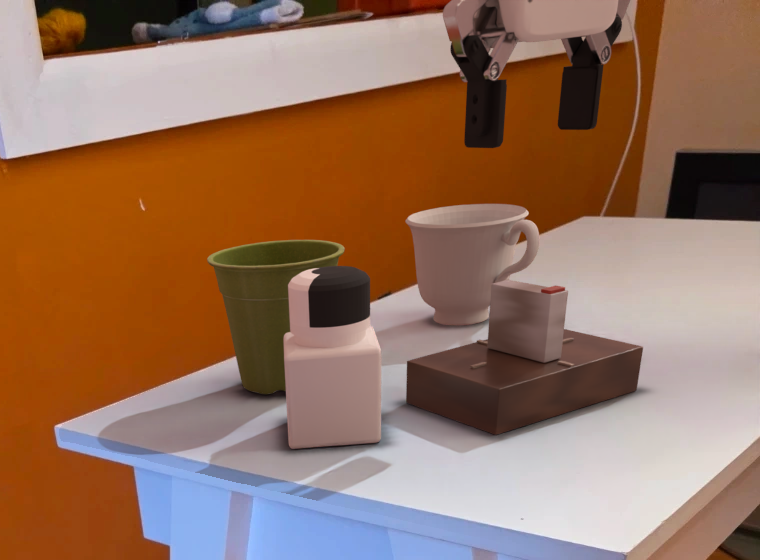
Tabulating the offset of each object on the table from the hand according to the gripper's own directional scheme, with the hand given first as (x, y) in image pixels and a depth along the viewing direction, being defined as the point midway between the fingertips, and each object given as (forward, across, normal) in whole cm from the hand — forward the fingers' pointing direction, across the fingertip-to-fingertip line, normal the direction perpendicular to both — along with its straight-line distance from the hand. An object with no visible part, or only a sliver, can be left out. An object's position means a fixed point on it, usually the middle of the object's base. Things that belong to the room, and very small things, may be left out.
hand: (530, 137), depth 70 cm
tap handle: (+15, -1, -2) cm, 15 cm away
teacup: (+19, +15, +19) cm, 31 cm away
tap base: (+18, -1, -2) cm, 19 cm away
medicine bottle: (+19, -16, +3) cm, 25 cm away
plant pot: (+19, -12, +17) cm, 28 cm away
